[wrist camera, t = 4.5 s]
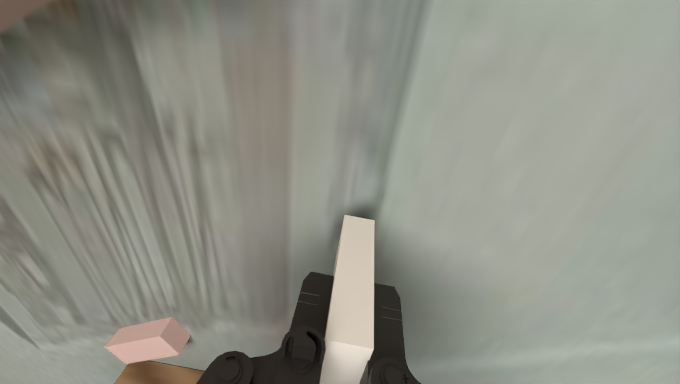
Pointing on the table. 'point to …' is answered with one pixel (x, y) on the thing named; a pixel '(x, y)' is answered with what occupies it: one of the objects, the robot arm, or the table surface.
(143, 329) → the eraser
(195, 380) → the wooden block
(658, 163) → the table surface
